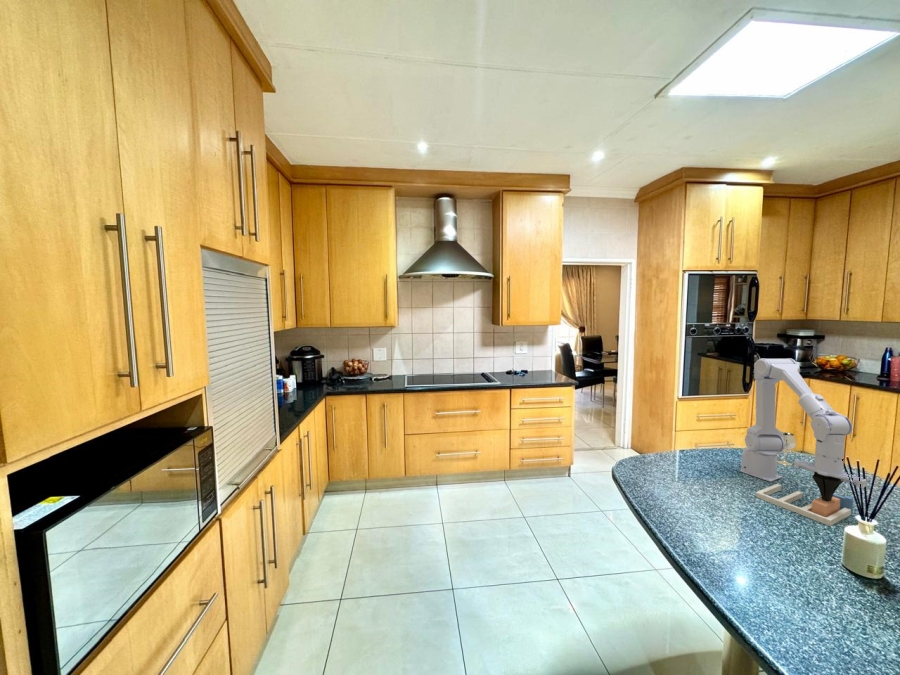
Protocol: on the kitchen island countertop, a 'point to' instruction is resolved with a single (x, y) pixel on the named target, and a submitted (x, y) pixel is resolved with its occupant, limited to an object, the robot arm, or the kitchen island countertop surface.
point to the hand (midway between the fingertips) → (826, 500)
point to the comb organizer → (802, 511)
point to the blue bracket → (845, 502)
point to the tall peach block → (825, 506)
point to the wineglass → (787, 446)
